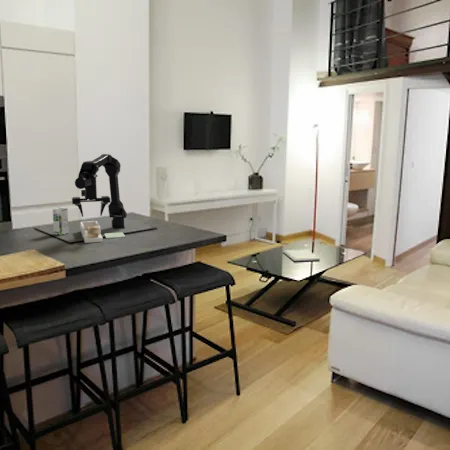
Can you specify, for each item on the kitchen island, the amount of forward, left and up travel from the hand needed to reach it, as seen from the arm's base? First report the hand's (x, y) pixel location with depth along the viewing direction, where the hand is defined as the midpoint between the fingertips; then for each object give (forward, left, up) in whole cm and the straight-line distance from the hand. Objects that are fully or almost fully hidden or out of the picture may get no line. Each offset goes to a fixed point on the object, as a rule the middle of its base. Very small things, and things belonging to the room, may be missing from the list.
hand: (91, 216), depth 242 cm
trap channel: (0, -8, -12) cm, 15 cm away
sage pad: (-12, -5, -12) cm, 18 cm away
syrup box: (+15, -18, -13) cm, 27 cm away
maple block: (0, +1, -10) cm, 10 cm away
